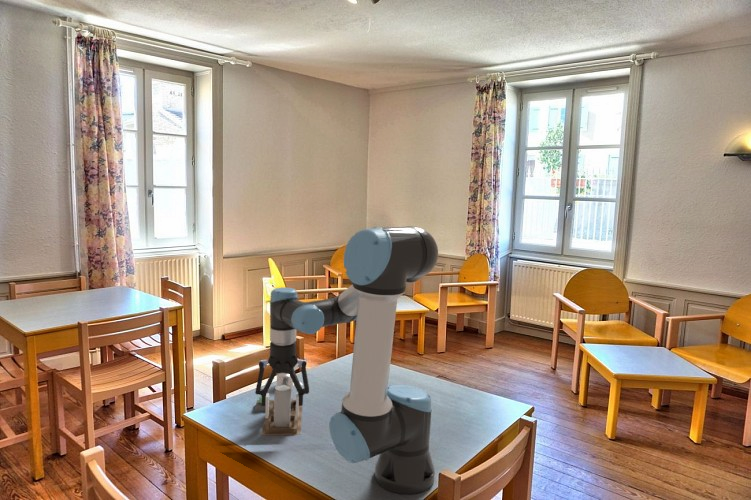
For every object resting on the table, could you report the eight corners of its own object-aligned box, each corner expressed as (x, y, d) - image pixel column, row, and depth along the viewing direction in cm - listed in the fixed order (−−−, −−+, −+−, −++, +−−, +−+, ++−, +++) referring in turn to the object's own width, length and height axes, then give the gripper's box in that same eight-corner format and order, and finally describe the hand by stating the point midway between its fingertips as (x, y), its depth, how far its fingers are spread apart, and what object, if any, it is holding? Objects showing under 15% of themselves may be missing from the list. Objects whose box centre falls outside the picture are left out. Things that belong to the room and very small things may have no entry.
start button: (268, 403, 160) (269, 399, 160) (258, 403, 160) (258, 399, 159) (269, 399, 163) (270, 395, 163) (259, 399, 163) (259, 395, 163)
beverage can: (293, 426, 150) (294, 387, 148) (280, 431, 147) (281, 392, 145) (283, 420, 153) (284, 382, 152) (270, 425, 150) (271, 387, 148)
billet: (292, 414, 158) (292, 377, 156) (275, 414, 157) (276, 377, 156) (292, 407, 163) (293, 371, 161) (277, 407, 162) (277, 371, 160)
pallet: (300, 439, 146) (300, 429, 146) (248, 440, 144) (248, 430, 144) (302, 408, 166) (302, 399, 165) (257, 408, 164) (257, 399, 164)
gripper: (319, 337, 151) (318, 409, 155) (248, 337, 149) (247, 410, 152) (319, 345, 144) (317, 421, 147) (244, 345, 142) (244, 422, 145)
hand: (282, 415), depth 150 cm, fingers open, 8 cm apart
